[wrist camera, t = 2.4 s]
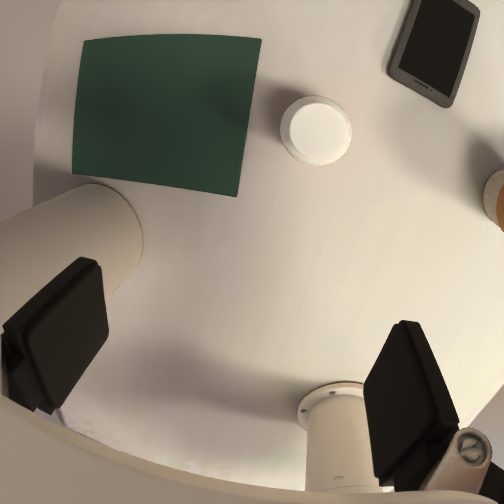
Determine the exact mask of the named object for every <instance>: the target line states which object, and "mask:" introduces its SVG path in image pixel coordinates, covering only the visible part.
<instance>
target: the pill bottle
mask: <svg viewBox="0 0 504 504" xmlns="http://www.w3.org/2000/svg"><path fill="white" fill-rule="evenodd" d="M280 136H281V140H282V143H283V145H284V147H285V148H286V150H287V151H288V152H289V154H290V155H291V156H293V157H294V158H295V159H297V160H298V161H300V162H302V163H305V164H308V165H326V164H329V163H332V162H334V161H336V160H337V159H339V158H340V157H341V156H342V155H343V154H344V153H345V152H346V150H347V149H348V147H349V144H350V141H351V137H352V127H351V123H350V120H349V117H348V115H347V114H346V112H345V111H344V109H343V108H342V107H341V106H340V105H339V104H337V103H336V102H334V101H333V100H331V99H328V98H325V97H321V96H307V97H304V98H301V99H298V100H297V101H295V102H294V103H293V104H291V105H290V106H289V107H288V108H287V110H286V111H285V112H284V114H283V116H282V119H281V123H280Z"/></svg>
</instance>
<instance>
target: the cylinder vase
mask: <svg viewBox="0 0 504 504" xmlns="http://www.w3.org/2000/svg"><path fill="white" fill-rule="evenodd" d="M142 249H143V238H142V232H141V227H140V224H139V221H138V219H137V217H136V215H135V213H134V211H133V209H132V208H131V206H130V205H129V204H128V203H127V201H126V200H125V199H124V198H123V197H122V196H121V195H119V194H118V193H117V192H115V191H114V190H112V189H110V188H108V187H105V186H102V185H98V184H86V185H82V186H79V187H77V188H74V189H72V190H69V191H67V192H65V193H63V194H60V195H58V196H56V197H54V198H51V199H49V200H47V201H45V202H43V203H40V204H38V205H36V206H34V207H32V208H30V209H28V210H26V211H24V212H22V213H20V214H18V215H16V216H14V217H12V218H10V219H8V220H6V221H4V222H2V223H0V334H2V333H3V332H4V330H3V327H2V325H3V324H4V323H5V322H6V321H7V320H8V319H9V318H10V317H11V316H12V315H13V314H15V313H16V312H17V311H18V310H19V309H20V308H21V307H22V306H23V305H24V304H25V303H26V302H27V301H29V300H30V299H31V298H32V297H33V296H34V295H35V294H36V293H37V292H38V291H40V290H41V289H42V288H43V287H44V286H45V285H46V284H48V283H49V282H50V281H51V280H52V279H53V278H54V277H56V276H57V275H58V274H59V273H60V272H62V271H63V270H64V269H65V268H66V267H67V266H69V265H70V264H71V263H72V262H73V261H75V260H76V259H77V258H78V257H86V258H90V259H94V260H96V261H97V262H98V265H100V266H101V268H102V276H103V287H104V296H105V302H106V301H107V300H108V299H109V297H110V296H111V295H112V294H113V293H114V292H115V291H116V290H117V289H118V288H119V287H120V286H121V285H122V283H123V282H124V281H125V280H126V279H127V278H128V277H129V276H130V275H131V274H132V273H133V272H134V270H135V269H136V267H137V266H138V264H139V261H140V259H141V255H142Z"/></svg>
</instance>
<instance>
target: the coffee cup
mask: <svg viewBox="0 0 504 504" xmlns="http://www.w3.org/2000/svg"><path fill="white" fill-rule="evenodd" d="M483 204H484V208H485V211H486V214H487V216H488V217H489V218H490V220H491V221H493V222H494V223H495V224H496V225H497V226H499V227H500V228H501V230H502V231H503V232H504V169H503V170H499V171H497V172H496V173H494V174H493V175H491V177H490V178H489V179H488V181H487V183H486V185H485V188H484V192H483Z"/></svg>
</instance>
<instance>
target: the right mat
mask: <svg viewBox="0 0 504 504" xmlns="http://www.w3.org/2000/svg"><path fill="white" fill-rule="evenodd" d="M261 41H262V40H261V39H257V38H248V37H237V36H223V35H201V34H158V35H137V36H123V37H112V38H103V39H95V40H87V41H84V45H83V51H82V57H81V63H80V70H79V77H78V85H77V94H76V104H75V116H74V131H73V154H72V174H79V175H88V176H96V177H105V178H113V179H120V180H128V181H135V182H143V183H150V184H157V185H164V186H170V187H177V188H183V189H190V190H196V191H202V192H208V193H214V194H220V195H226V196H232V197H237V193H238V186H239V179H240V173H241V166H242V159H243V152H244V146H245V139H246V133H247V126H248V120H249V114H250V107H251V101H252V95H253V89H254V83H255V76H256V70H257V64H258V58H259V53H260V47H261Z"/></svg>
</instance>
